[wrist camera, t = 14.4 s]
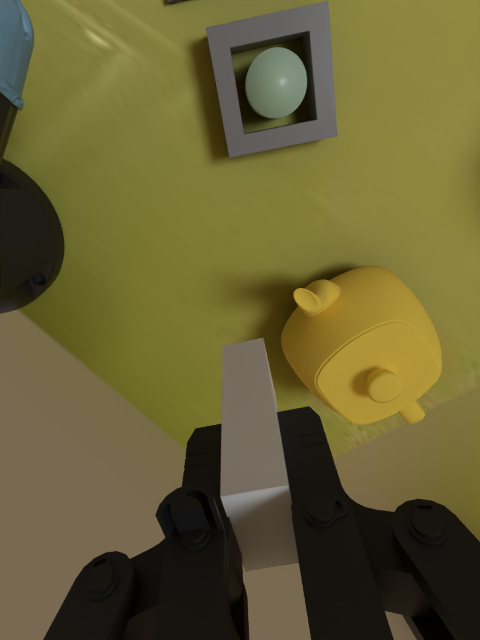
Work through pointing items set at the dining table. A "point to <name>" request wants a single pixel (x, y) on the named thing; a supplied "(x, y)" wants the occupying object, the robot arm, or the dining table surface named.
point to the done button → (275, 83)
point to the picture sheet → (174, 1)
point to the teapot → (363, 345)
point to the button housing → (319, 73)
